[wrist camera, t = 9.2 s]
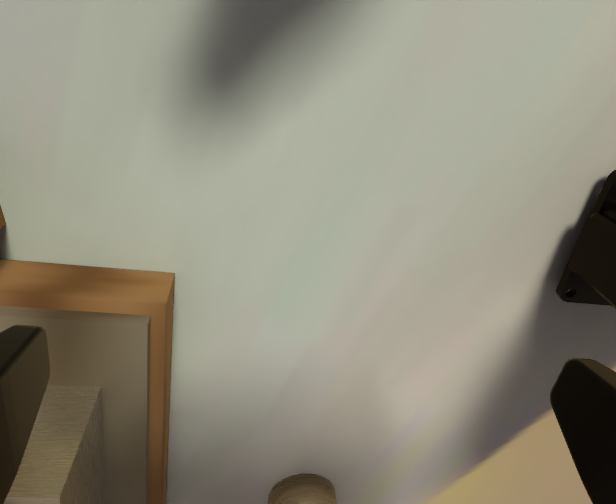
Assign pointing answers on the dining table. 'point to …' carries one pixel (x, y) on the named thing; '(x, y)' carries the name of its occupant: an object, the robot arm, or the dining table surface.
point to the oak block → (2, 219)
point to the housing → (64, 451)
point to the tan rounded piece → (303, 490)
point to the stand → (106, 357)
